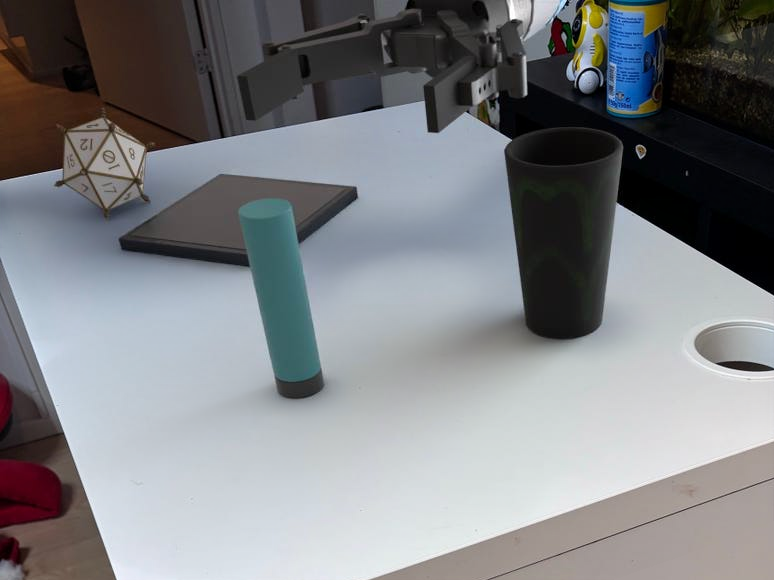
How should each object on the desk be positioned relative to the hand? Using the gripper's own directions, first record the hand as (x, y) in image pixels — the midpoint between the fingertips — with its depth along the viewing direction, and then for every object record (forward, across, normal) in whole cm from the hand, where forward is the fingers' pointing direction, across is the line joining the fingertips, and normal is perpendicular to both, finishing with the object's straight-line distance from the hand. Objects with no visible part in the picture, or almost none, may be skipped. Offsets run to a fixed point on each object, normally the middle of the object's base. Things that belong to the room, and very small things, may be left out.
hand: (335, 104), depth 65 cm
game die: (-14, +34, -15) cm, 40 cm away
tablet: (-14, +20, -15) cm, 29 cm away
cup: (-4, -14, -15) cm, 21 cm away
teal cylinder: (+10, 0, -15) cm, 18 cm away
